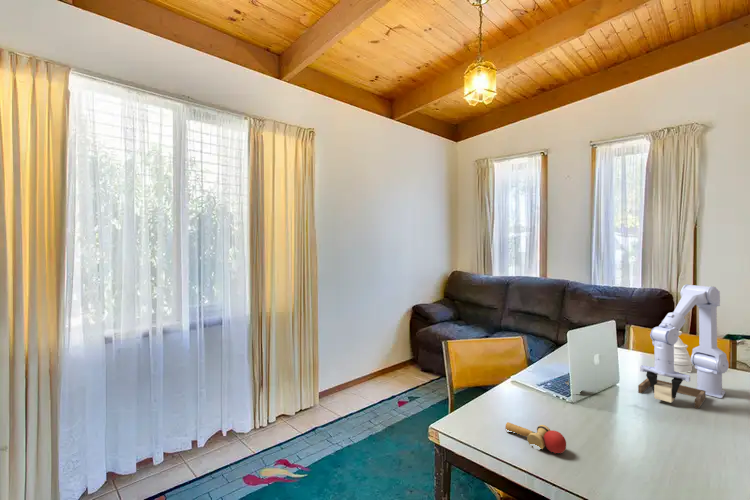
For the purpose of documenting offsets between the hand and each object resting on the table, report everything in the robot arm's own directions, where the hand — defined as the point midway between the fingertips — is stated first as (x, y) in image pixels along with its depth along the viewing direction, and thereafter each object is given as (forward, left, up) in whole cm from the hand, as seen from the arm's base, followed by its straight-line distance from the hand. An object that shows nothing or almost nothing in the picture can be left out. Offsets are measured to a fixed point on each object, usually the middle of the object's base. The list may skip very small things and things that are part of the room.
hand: (664, 394), depth 131 cm
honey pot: (-49, -7, -3) cm, 50 cm away
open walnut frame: (-9, 0, -3) cm, 9 cm away
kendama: (+64, -18, -3) cm, 66 cm away
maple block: (0, 0, -1) cm, 1 cm away
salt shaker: (+16, -26, -3) cm, 31 cm away
